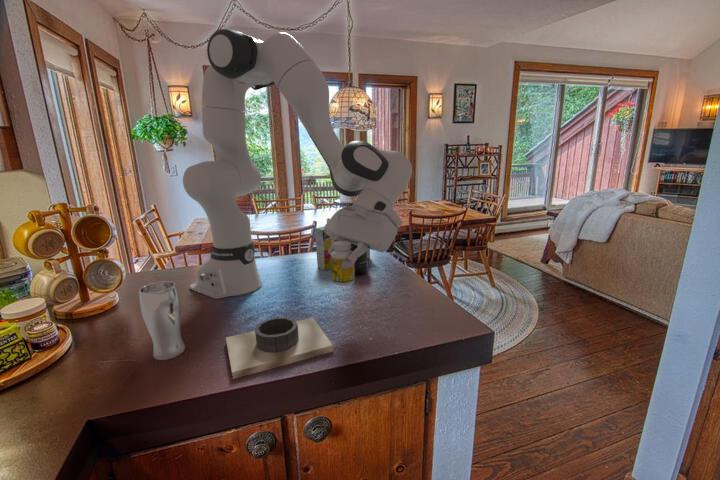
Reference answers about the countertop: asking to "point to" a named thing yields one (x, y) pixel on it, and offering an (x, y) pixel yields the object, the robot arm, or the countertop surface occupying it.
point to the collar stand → (276, 345)
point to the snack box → (325, 249)
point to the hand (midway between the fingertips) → (340, 257)
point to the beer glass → (162, 318)
